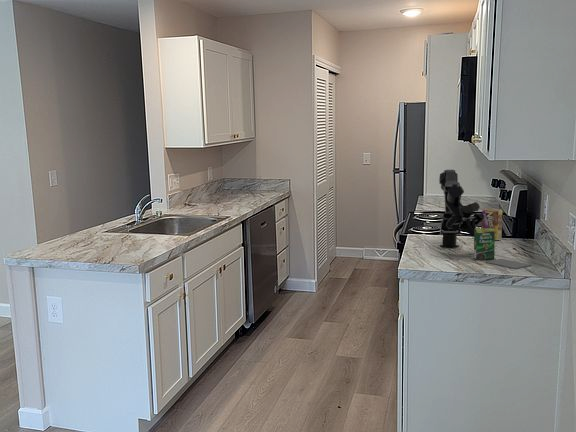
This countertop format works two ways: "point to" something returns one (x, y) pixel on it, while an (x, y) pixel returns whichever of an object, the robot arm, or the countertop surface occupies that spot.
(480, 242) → the coffee box
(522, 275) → the countertop surface
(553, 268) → the countertop surface
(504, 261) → the mat
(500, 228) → the candy box
